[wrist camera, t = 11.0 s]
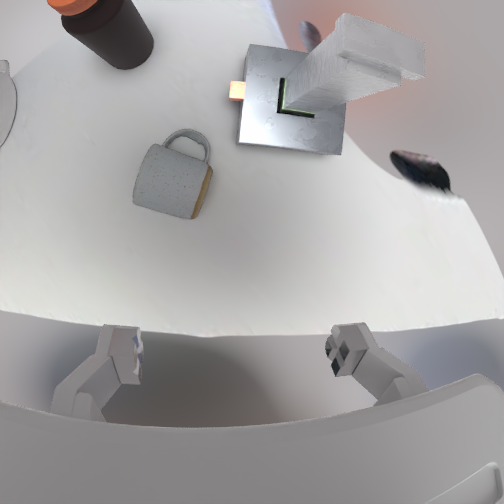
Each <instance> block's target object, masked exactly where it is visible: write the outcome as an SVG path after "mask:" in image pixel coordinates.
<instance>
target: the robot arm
mask: <svg viewBox="0 0 504 504" xmlns="http://www.w3.org/2000/svg"><path fill="white" fill-rule="evenodd" d="M15 111H16V90H15V86H14V83H13V81H12V79H11V78H10V75H9V63H8V61H7V60H0V146H1V145H2V144H3V142H4V141H5V139H6V137H7V135H8V133H9V131H10V129H11V126H12V123H13V120H14V116H15ZM331 333H332V335H331V336H330V337H328V338H327V341H326V346H325V350H326V354H327V357H328V358H329V359H330V360H332V364H331V367H332V369H333V372H334V374H335V377H339V376H347V375H352V376H353V377H354V378H355V379H356V380H357V381H358V382H359V383H360V384H361V385H362V386H363V387H364V388H366V389H367V390H368V391H369V392H370V393H371V394H372V395H373V396H374V397H375V398H376V399H378V401H377V402H376V403H375V404H374V406H373V407H370V408H366V409H361V410H357V411H352V412H348V413H343V414H337V415H332V416H326V417H320V418H314V419H308V420H301V421H293V422H285V423H278V424H277V423H276V424H268V425H256V426H241V427H221V428H169V427H149V426H148V427H147V426H134V425H123V424H114V423H106V421H105V419H104V417H103V416H102V414H101V412H100V410H101V409H102V408H103V406H104V405H105V404H106V403H107V401H108V400H109V399H110V397H111V396H112V395H113V394H114V392H115V391H116V390H117V388H118V387H119V386H120V383H122V384H140V383H141V373H142V371H141V366H140V365H141V364H142V362H143V344H142V340H141V339H140V335H141V332H140V328H139V327H131V326H120V325H107V324H104V325H103V326H102V329H101V332H100V337H99V340H98V344H97V348H96V352H95V355H91V356H90V357H89V358H87V359H86V360H85V361H84V362H83V363H82V364H81V365H80V366H79V367H77V368H76V369H75V370H74V371H73V372H72V373H71V374H70V375H69V376H68V377H67V378H65V379H64V380H63V381H62V382H61V383H60V384H59V385H58V386H57V387H56V389H55V392H54V396H53V400H52V404H51V408H50V413H47V412H42V411H38V410H34V409H30V408H26V407H22V406H18V405H15V404H11V403H8V402H4V401H1V400H0V504H504V393H503V391H502V389H501V388H500V387H499V386H498V385H497V384H496V383H494V382H493V381H491V380H490V379H488V378H487V377H485V376H483V375H481V374H473V375H471V376H468V377H466V378H463V379H461V380H458V381H456V382H453V383H450V384H448V385H445V386H442V387H439V388H436V389H433V390H430V391H429V390H428V388H427V387H426V385H425V383H424V381H423V379H422V378H421V376H420V374H419V372H417V371H416V370H414V369H413V368H412V367H410V366H409V365H407V364H406V363H404V362H402V361H401V360H400V359H398V358H397V357H395V356H394V355H392V354H391V353H389V352H388V351H386V350H385V349H384V348H379V346H378V344H377V343H376V341H375V339H374V337H373V335H372V333H371V332H370V330H369V328H368V326H367V325H366V324H365V323H364V322H363V323H351V324H340V325H334V326H333V327H332V329H331Z"/></svg>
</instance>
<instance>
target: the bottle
mask: <svg viewBox="0 0 504 504" xmlns="http://www.w3.org/2000/svg"><path fill="white" fill-rule="evenodd" d="M47 2H48V4H49V5H50V6H51V7H52V8H54V9H55V10H56V11H58V12H59V13H60V14H62V16H61V20H62V25H63V27H64V29H65V30H66V31H67V32H68V33H69V34H71V35H72V36H73V37H75V38H76V39H77V40H79V41H80V42H81V43H83V44H84V45H86V46H87V47H88V48H90V49H91V50H92V51H94V52H95V53H96V54H98V55H99V56H100V57H101V58H103V59H104V60H105V61H107V62H108V63H109V64H111V65H112V66H114V67H116V68H118V69H131V68H134V67H136V66H139V65H140V64H142V63H143V62H144V61H145V60H146V59H147V58H148V57H149V55H150V54H151V51H152V49H153V38H152V35H151V33H150V31H149V30H148V28H147V26H146V24H145V23H144V21H143V19H142V18H141V16H140V14H139V13H138V11H137V9H136V7H135V6H134V4H133V2H132V1H131V0H47Z"/></svg>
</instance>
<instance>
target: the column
mask: <svg viewBox="0 0 504 504" xmlns="http://www.w3.org/2000/svg"><path fill="white" fill-rule="evenodd" d="M401 77H404V78H406V79H409V80H415V79H419V78H423V77H425V49H424V42H422V41H420V40H418V39H416V38H414V37H411V36H409V35H406V34H404V33H402V32H399V31H396V30H394V29H392V28H389V27H387V26H384V25H381V24H379V23H376V22H373V21H370V20H367V19H364V18H361V17H358V16H355V15H352V14H348V13H344V14H343V15H342V16H341V17H340V18H339V19H337V21H336V22H335V30H334V31H333V32H332V33H331V34H330V35H329V36H328V37H327V38H325V39H324V40H323V41H322V42H321V43H320V44H319V45H318V46H317V47H316V48H315V49H314V50H313V51H312V52H311V53H310V54H309V55H308V56H307V57H306V58H305V59H304V60H303V61H302V62H301V63H300V64H299V65H298V66H297V67H296V68H295V69H294V70H293V71H292V72H291V73H290V74H289V75H288V77H287V78H285V79H284V80H283V82H282V83H281V88H280V98H279V108H278V112H284V113H291V114H298V115H304V116H310V115H314V114H315V113H318V112H320V111H323V110H326V109H329V108H332V107H334V106H337V105H340V104H343V103H346V102H349V101H352V100H355V99H358V98H361V97H364V96H367V95H370V94H374V93H377V92H380V91H383V90H387V89H390V88H393V87H397V86H401Z"/></svg>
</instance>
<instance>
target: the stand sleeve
mask: <svg viewBox="0 0 504 504" xmlns="http://www.w3.org/2000/svg"><path fill="white" fill-rule="evenodd" d="M308 55H309V53H304V52H299V51H294V50H288V49H282V48H275V47H269V46H261V45H253V44H250V45H249V49H248V52H247V55H246V58H245V66H244V75H243V82H239V81H231V84H230V93H229V101H241V102H240V111H239V121H238V131H237V141H236V144H244V145H255V146H264V147H273V148H282V149H290V150H297V151H304V152H311V153H318V154H324V155H341V152H342V143H343V133H344V122H345V111H346V103H343V104H340V105H337V106H334V107H332V108H329V109H326V110H323V111H320V112H318V113H315V114H314V115H310V116H304V115H301V117H300V116H294V115H287V114H280V113H277V104H278V94H279V89H280V88H281V83H282V82H283V80H284V79H285V78H287V77H288V75H289V74H290V73H291V72H292V71H293V70H294V69H295V68H296V67H297V66H298V65H299V64H300V63H301V62H302V61H303V60H304V59H305V58H306V57H307V56H308Z"/></svg>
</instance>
